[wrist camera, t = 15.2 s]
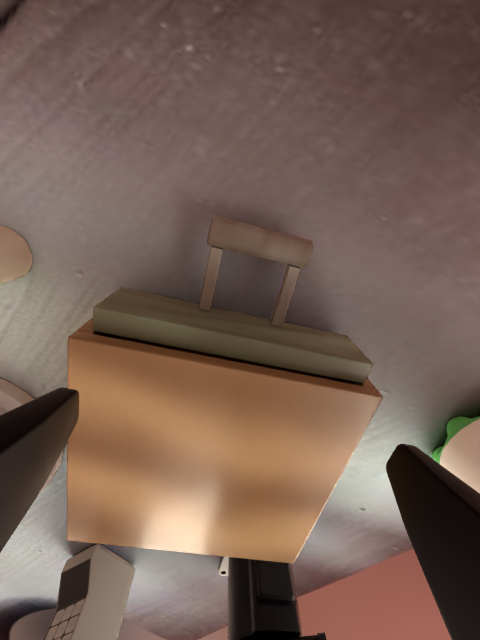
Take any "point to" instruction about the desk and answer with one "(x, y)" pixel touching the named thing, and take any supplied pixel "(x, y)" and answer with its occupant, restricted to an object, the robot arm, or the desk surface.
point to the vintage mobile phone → (91, 596)
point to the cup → (462, 450)
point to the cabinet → (203, 449)
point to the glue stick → (13, 255)
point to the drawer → (236, 315)
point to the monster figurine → (8, 397)
